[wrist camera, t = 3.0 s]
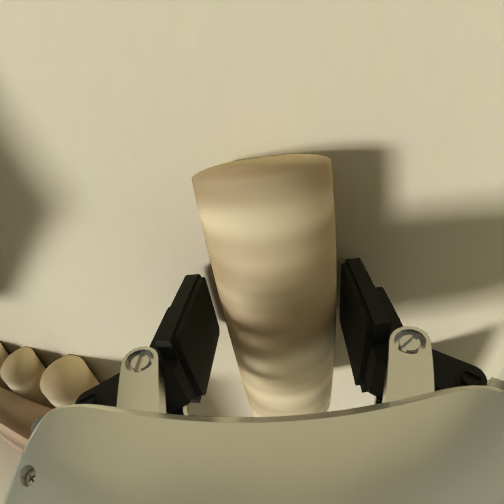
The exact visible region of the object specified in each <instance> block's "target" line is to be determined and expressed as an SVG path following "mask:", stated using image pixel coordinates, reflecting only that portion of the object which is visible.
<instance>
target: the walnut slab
mask: <svg viewBox="0 0 504 504" xmlns="http://www.w3.org/2000/svg"><path fill="white" fill-rule="evenodd" d="M51 410H52V409H51V408H48V407H45V406H43V405H40V404H38V403H35V402H33V401H30V400H28V399H25V398H23V397H21V396H19V395H16V394H14V393H12V392H10V391H8V390H6V389H4V388H1V387H0V436H1V437H2V438H4V439H5V440H6V441H7V442H8V443H9V444H10V445H12V446H13V447H15V448H16V449H18V450H19V451H21V452H23V450H24V448H25V446H26V444H27V442H28V440H29V438H30V436H31V426H32V423H33V422H34V421H35V419H37V418H38V417H40V416H42V415H45V414H47V413H48V412H49V411H51Z"/></svg>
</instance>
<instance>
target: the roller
mask: <svg viewBox="0 0 504 504" xmlns="http://www.w3.org/2000/svg"><path fill="white" fill-rule="evenodd" d="M192 182H193V187H194V192H195V196H196V201H197V206H198V210H199V215H200V219H201V223H202V228H203V232H204V236H205V241H206V245H207V249H208V253H209V257H210V262H211V266H212V270H213V274H214V278H215V282H216V286H217V290H218V293H219V297H220V301H221V305H222V309H223V313H224V316H225V320H226V324H227V327H228V331H229V335H230V338H231V342H232V346H233V349H234V353H235V356H236V360H237V363H238V367H239V370H240V373H241V377H242V380H243V384H244V387H245V390H246V394H247V397H248V400H249V403H250V407H251V410H252V413H253V415H254V417H273V416H290V415H303V414H314V413H323V412H327V410H328V408H329V405H330V399H331V388H332V377H333V363H334V347H335V326H336V226H335V204H334V188H333V174H332V162H331V159H330V158H329V157H326V156H323V155H316V154H282V155H274V156H265V157H258V158H250V159H243V160H238V161H233V162H229V163H225V164H221V165H218V166H214V167H211V168H208V169H206V170H203V171H201V172H199V173H197V174H195V175H194V176H193V177H192Z"/></svg>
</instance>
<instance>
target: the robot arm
mask: <svg viewBox="0 0 504 504" xmlns="http://www.w3.org/2000/svg"><path fill="white" fill-rule="evenodd" d="M340 324H341V328H342V331H343V335H344V339H345V343H346V347H347V351H348V355H349V359H350V363H351V368H352V372H353V376H354V381H355V384H356V386H357V385H360V386H361V390H362V393H363V392H369V393H371V394H373V395H375V398H374V405H370V406H364V407H358V408H352V409H346V410H339V411H331V412H323V413H314V414H303V415H290V416H273V417H208V416H190V415H188V414H187V407H186V405H188V404H189V403H190V402H193V403H200V400H201V395H205V394H206V391H207V386H208V382H209V377H210V373H211V368H212V364H213V359H214V355H215V351H216V346H217V342H218V338H219V325H218V321H217V318H216V314H215V311H214V307H213V304H212V300H211V297H210V293H209V289H208V286H207V282H206V279H205V277H201V276H200V274H195V275H186V276H185V278H184V280H183V282H182V284H181V286H180V288H179V290H178V292H177V294H176V296H175V298H174V300H173V302H172V304H171V306H170V307H169V308H168V309H167V311H166V313H165V315H164V317H163V319H162V321H161V323H160V326H159V328H158V330H157V332H156V334H155V336H154V338H153V340H152V343H151V345H150V347H146V346H145V347H139V348H135V349H133V350H132V351H130V352H129V353H127V354H126V355H125V357H124V358H123V360H122V363H121V369H120V373H118V374H117V375H115V376H113V377H111V378H109V379H107V380H106V381H104V382H102V383H100V384H98V385H96V386H94V387H93V388H91V389H89V390H87V391H85V392H84V393H82V394H81V395H80V396H79V397H78V398H77V400H76V402H75V404H72V403H71V404H68V405H66V406H61V407H57V408H54V409H52V410H51V411H49V412H48V413H47V414H45V415H42V416H40V417H38V418H37V419H35V421H34V422H33V423H32V426H31V436H30V438H29V440H28V442H27V444H26V446H25V448H24V450H23V452H22V454H21V456H20V458H19V461H18V463H17V465H16V468H15V470H14V473H13V475H12V478H11V481H10V483H9V486H8V489H7V492H6V495H5V498H4V501H3V504H504V381H503V380H499V379H496V378H493V377H491V379H490V380H487V378H486V376H485V374H484V373H483V372H482V371H481V370H480V369H479V368H477V367H476V366H473V365H471V364H468V363H466V362H463V361H461V360H458V359H456V358H453V357H451V356H448V355H446V354H443V353H441V352H438V351H436V350H433V349H432V348H431V341H430V337H429V336H428V335H427V333H426V332H424V331H423V330H422V329H419V328H417V327H412V326H404V327H403V325H402V323H401V321H400V319H399V317H398V315H397V313H396V311H395V309H394V307H393V305H392V303H391V302H390V300H389V298H388V296H387V294H386V292H385V290H384V289H383V287H376V288H375V286H374V284H373V282H372V280H371V278H370V277H369V275H368V273H367V271H366V269H365V267H364V265H363V263H362V261H361V260H360V258H353V259H346V260H345V263H341V288H340Z"/></svg>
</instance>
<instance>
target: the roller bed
mask: <svg viewBox="0 0 504 504" xmlns="http://www.w3.org/2000/svg"><path fill="white" fill-rule="evenodd" d="M98 384H100V383H99V382H98V380H97V379H96V378H95V376H94V375H93V373H92V372H91V371H90V369H89V368H88V366H87V365H86V363H85V362H84V360H83V359H82V358H80V357H78V356H75V355H68V356H64V357H61V358H59V359H57V360H55V361H54V362H53V363H51V364H50V365H49V366H48V367H47V368H45V367H44V365H43V364H42V363H41V361H40V360H39V358H38V357H37V355H36V354H35V353H34V351H33V350H32V349H31V348H29V347H23V348H20V349H18V350H16V351H14V352H13V353H11V354H10V355H9V354H8V353H7V351H6V350H5V348H4V347H3V345H2V344H1V342H0V387H1V388H4V389H6V390H8V391H10V392H12V393H14V394H16V395H19V396H21V397H23V398H25V399H28V400H30V401H33V402H35V403H38V404H40V405H43V406H45V407H48V408H51V409H54V408H57V407H61V406H66V405H68V404H71V403H72V404H75V402H76V400H77V398H78V397H79V396H80V395H81V394H82V393H84V392H85V391H87V390H89V389H91V388H93V387H94V386H96V385H98Z"/></svg>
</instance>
